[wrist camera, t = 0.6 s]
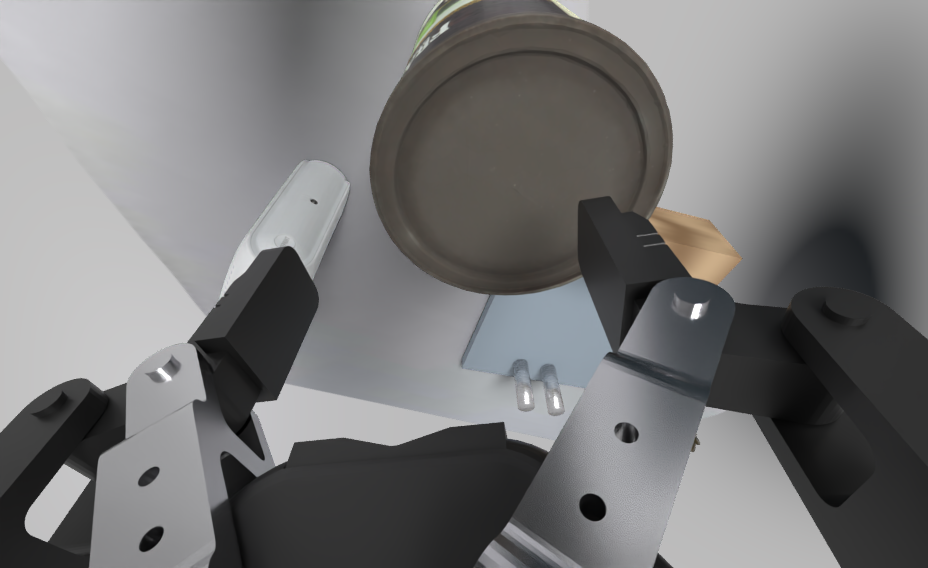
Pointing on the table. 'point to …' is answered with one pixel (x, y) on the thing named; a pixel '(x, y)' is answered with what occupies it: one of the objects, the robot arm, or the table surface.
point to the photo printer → (296, 218)
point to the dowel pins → (549, 384)
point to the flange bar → (696, 244)
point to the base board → (540, 335)
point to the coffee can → (514, 143)
